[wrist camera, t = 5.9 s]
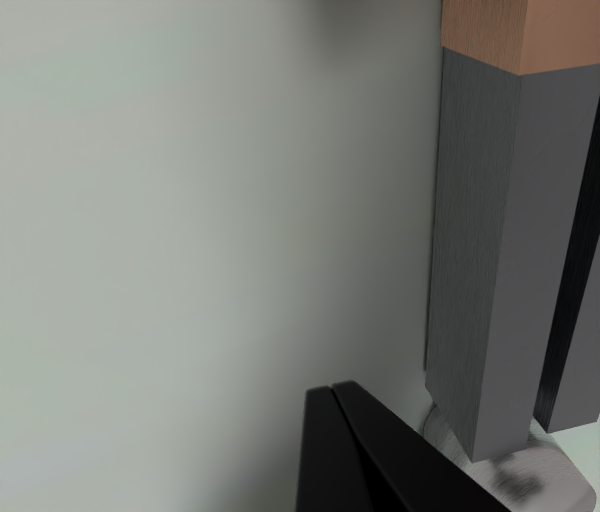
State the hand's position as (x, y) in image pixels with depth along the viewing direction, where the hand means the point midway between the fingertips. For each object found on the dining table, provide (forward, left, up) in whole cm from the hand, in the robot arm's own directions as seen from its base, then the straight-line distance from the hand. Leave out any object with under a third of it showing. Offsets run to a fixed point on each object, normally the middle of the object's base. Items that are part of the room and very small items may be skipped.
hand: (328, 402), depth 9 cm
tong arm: (+1, -5, -5) cm, 7 cm away
